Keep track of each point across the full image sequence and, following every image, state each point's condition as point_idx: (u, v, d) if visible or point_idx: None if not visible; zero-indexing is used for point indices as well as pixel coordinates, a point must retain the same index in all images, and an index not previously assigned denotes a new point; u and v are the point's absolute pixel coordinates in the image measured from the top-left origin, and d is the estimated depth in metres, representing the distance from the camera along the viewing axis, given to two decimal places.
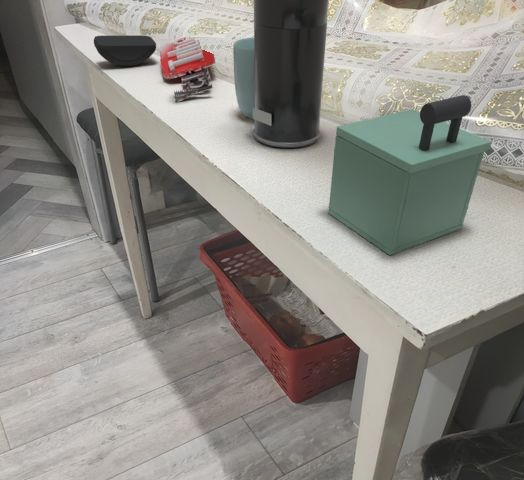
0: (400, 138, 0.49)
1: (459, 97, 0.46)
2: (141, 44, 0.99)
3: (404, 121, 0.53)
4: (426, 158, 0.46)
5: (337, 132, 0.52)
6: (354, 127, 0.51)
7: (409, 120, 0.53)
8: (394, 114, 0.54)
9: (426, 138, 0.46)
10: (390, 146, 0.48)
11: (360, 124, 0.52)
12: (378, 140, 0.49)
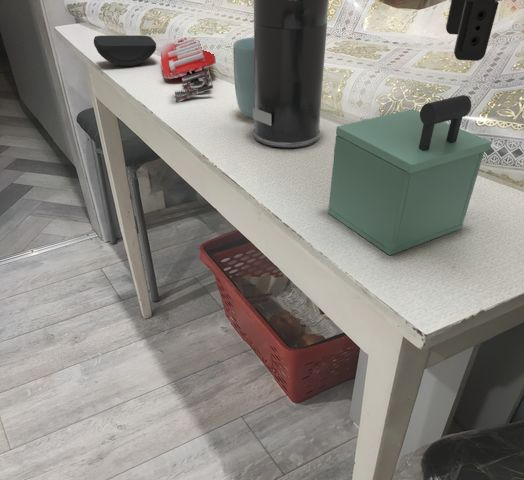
0: (400, 138, 0.49)
1: (459, 97, 0.46)
2: (141, 44, 0.99)
3: (404, 121, 0.53)
4: (426, 158, 0.46)
5: (337, 132, 0.52)
6: (354, 127, 0.51)
7: (409, 120, 0.53)
8: (394, 114, 0.54)
9: (426, 138, 0.46)
10: (390, 146, 0.48)
11: (360, 124, 0.52)
12: (378, 140, 0.49)
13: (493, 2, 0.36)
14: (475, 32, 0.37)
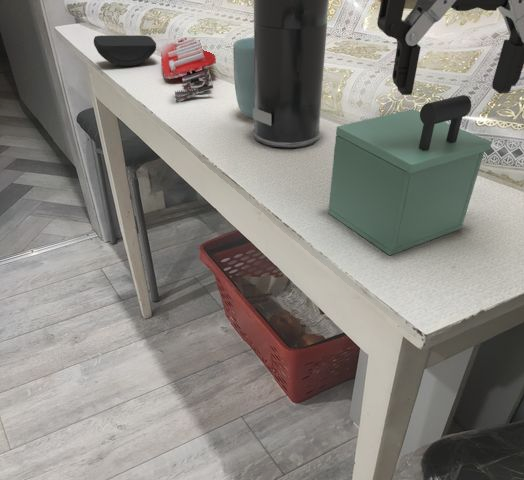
0: (400, 138, 0.49)
1: (459, 97, 0.46)
2: (141, 44, 0.99)
3: (404, 121, 0.53)
4: (426, 158, 0.46)
5: (337, 132, 0.52)
6: (354, 127, 0.51)
7: (409, 120, 0.53)
8: (394, 114, 0.54)
9: (426, 138, 0.46)
10: (390, 146, 0.48)
11: (360, 124, 0.52)
12: (378, 140, 0.49)
13: None
14: None
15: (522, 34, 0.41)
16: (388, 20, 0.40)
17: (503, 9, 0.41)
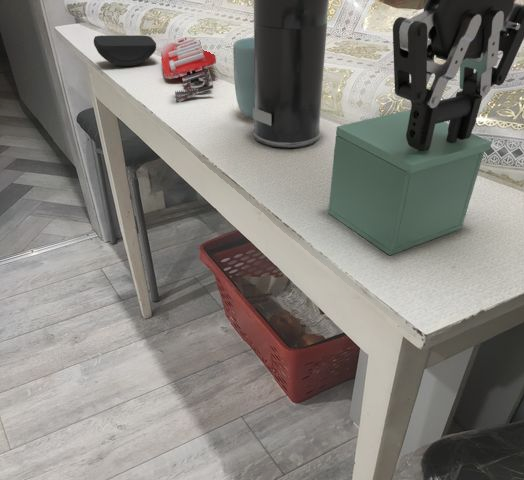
0: (400, 139, 0.49)
1: (459, 97, 0.46)
2: (141, 44, 0.99)
3: (404, 121, 0.53)
4: (426, 158, 0.46)
5: (337, 132, 0.52)
6: (354, 127, 0.51)
7: None
8: (394, 114, 0.54)
9: None
10: (390, 146, 0.48)
11: (360, 124, 0.52)
12: (378, 140, 0.49)
13: None
14: None
15: (482, 86, 0.45)
16: (418, 89, 0.41)
17: (466, 59, 0.44)
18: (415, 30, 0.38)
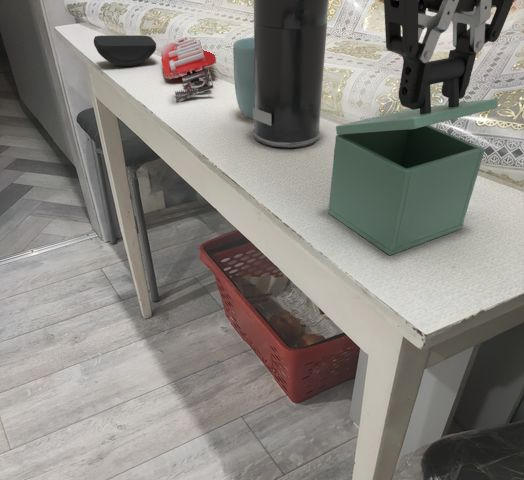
0: (400, 116, 0.48)
1: None
2: (141, 44, 0.99)
3: (404, 112, 0.52)
4: (429, 114, 0.44)
5: (337, 131, 0.51)
6: (353, 122, 0.51)
7: (409, 111, 0.52)
8: (393, 113, 0.54)
9: (425, 100, 0.45)
10: (390, 119, 0.46)
11: (359, 121, 0.52)
12: (378, 120, 0.48)
13: None
14: None
15: (475, 42, 0.44)
16: (410, 41, 0.40)
17: (459, 14, 0.43)
18: None
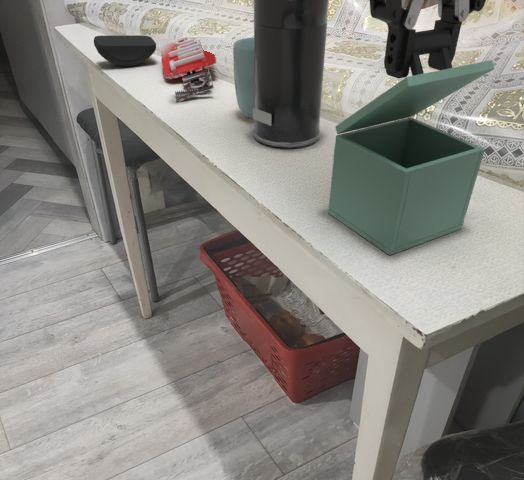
0: None
1: None
2: (141, 44, 0.99)
3: None
4: None
5: (337, 130, 0.51)
6: None
7: None
8: None
9: (416, 67, 0.44)
10: None
11: None
12: None
13: None
14: None
15: (460, 10, 0.44)
16: (393, 6, 0.40)
17: None
18: None
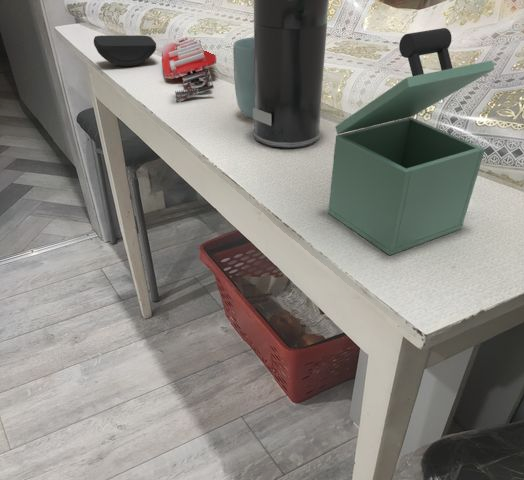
0: None
1: (434, 29, 0.45)
2: (141, 44, 0.99)
3: None
4: (422, 75, 0.43)
5: (337, 130, 0.51)
6: None
7: None
8: None
9: (416, 68, 0.44)
10: None
11: None
12: None
13: None
14: None
15: None
16: None
17: None
18: None
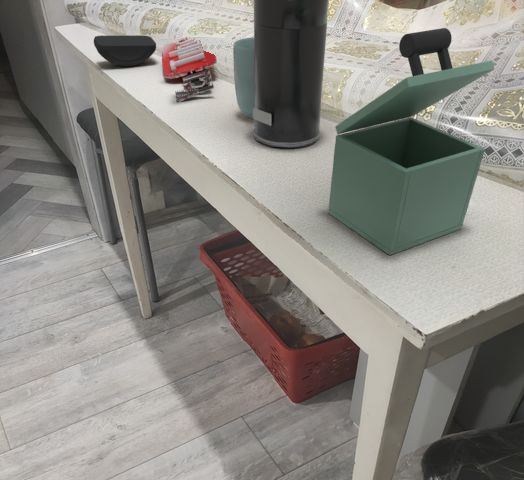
0: None
1: (434, 29, 0.45)
2: (141, 44, 0.99)
3: None
4: (422, 75, 0.43)
5: (337, 130, 0.51)
6: None
7: None
8: None
9: (416, 68, 0.44)
10: None
11: None
12: None
13: None
14: None
15: None
16: None
17: None
18: None
